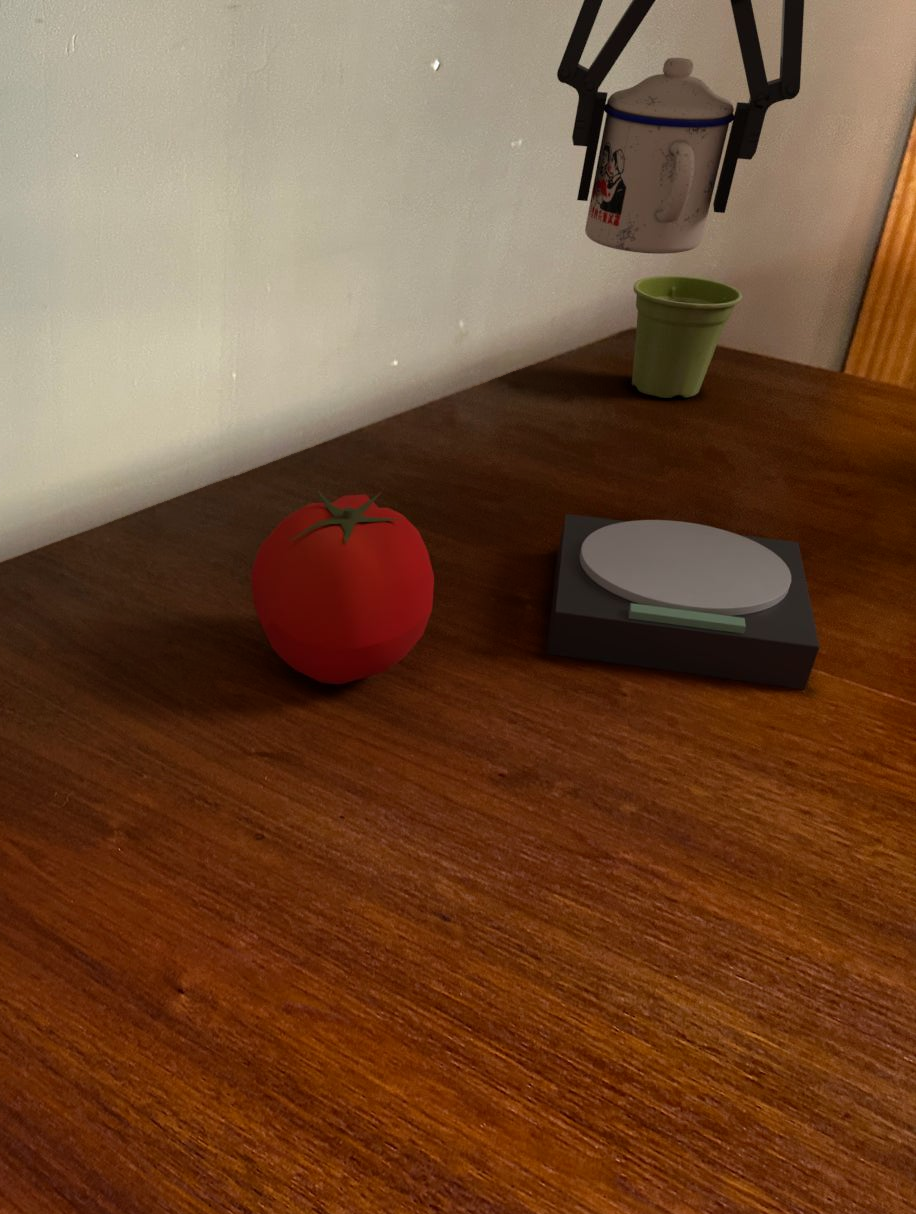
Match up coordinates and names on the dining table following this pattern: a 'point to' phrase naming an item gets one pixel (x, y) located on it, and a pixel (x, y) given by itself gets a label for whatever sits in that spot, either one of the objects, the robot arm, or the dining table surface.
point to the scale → (682, 600)
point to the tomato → (343, 588)
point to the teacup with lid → (658, 163)
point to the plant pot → (678, 332)
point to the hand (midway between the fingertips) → (650, 202)
